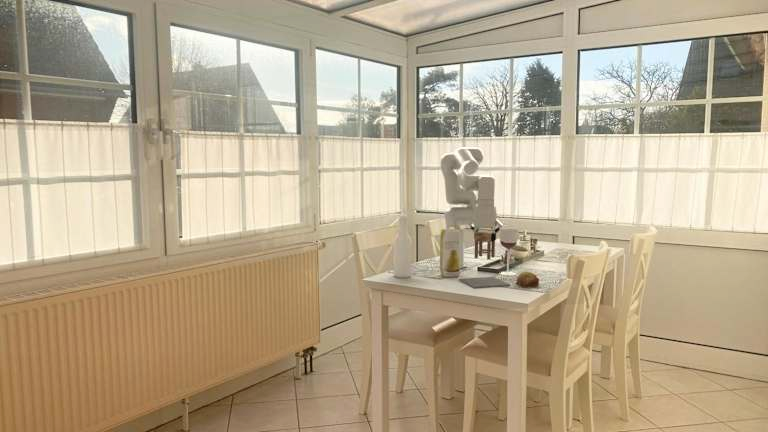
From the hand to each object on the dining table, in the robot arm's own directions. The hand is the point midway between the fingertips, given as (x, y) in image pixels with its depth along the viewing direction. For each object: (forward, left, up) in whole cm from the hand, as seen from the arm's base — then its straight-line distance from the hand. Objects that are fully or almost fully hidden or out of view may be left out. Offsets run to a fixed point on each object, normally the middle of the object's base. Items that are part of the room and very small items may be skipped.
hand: (484, 240), depth 261 cm
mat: (0, 0, -20) cm, 20 cm away
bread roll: (+9, +18, -20) cm, 28 cm away
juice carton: (-19, -9, -20) cm, 29 cm away
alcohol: (-24, -32, -20) cm, 45 cm away
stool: (0, 0, -8) cm, 8 cm away
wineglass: (-16, +21, -20) cm, 33 cm away
